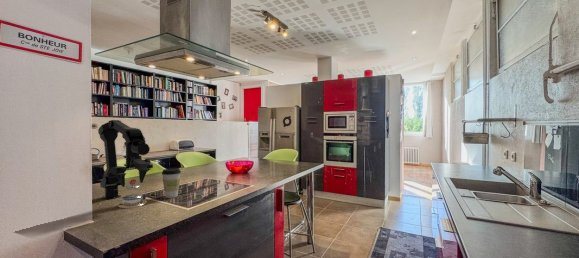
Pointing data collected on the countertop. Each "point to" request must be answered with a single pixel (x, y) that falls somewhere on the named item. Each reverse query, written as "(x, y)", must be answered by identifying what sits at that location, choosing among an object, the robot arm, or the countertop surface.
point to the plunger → (132, 185)
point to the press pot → (133, 201)
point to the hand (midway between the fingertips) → (132, 184)
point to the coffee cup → (171, 182)
